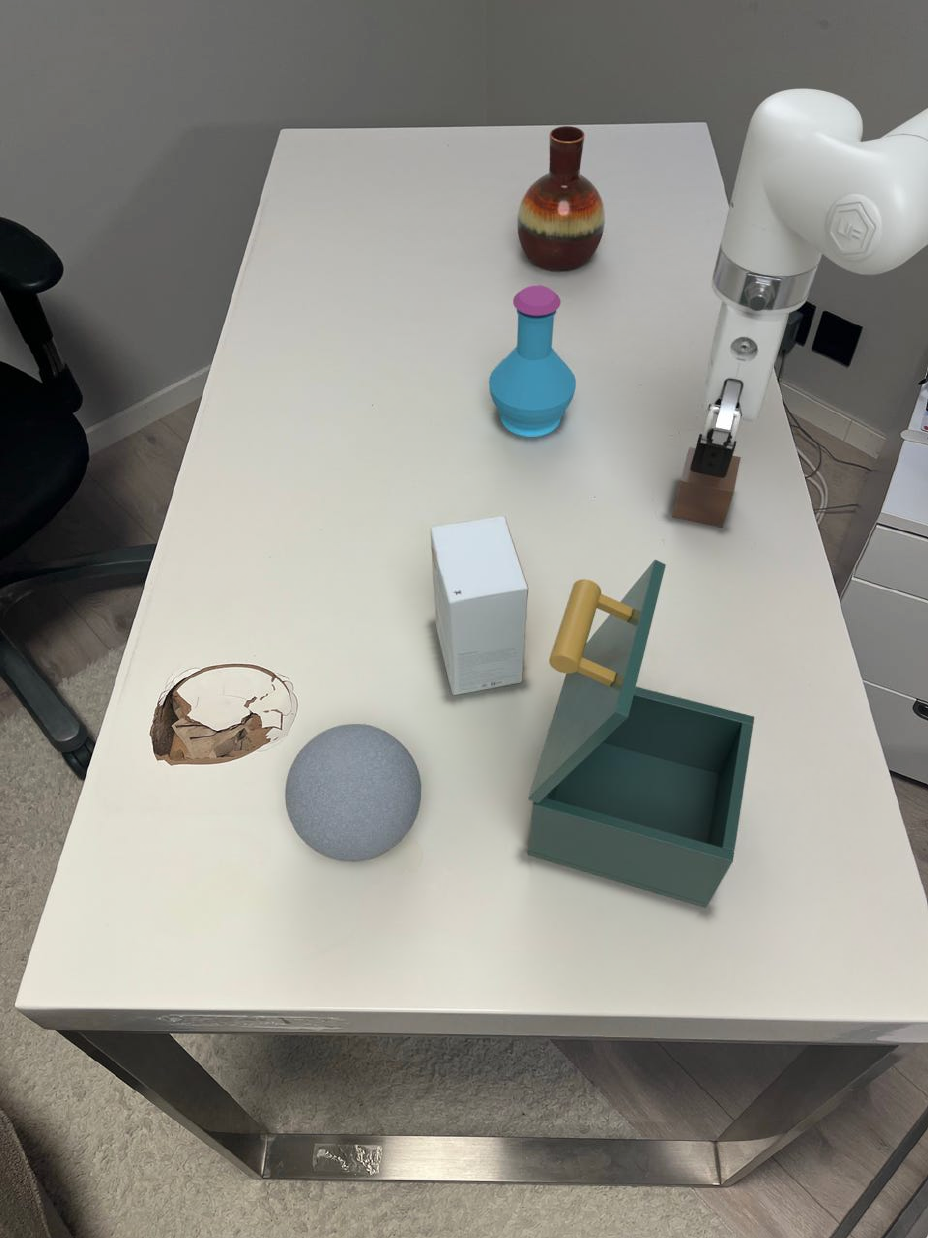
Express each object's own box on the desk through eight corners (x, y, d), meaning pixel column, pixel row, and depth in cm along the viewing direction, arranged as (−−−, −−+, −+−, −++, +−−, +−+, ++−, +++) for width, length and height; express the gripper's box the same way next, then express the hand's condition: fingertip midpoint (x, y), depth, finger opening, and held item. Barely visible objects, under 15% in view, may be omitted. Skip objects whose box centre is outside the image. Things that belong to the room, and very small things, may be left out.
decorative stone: (447, 841, 69) (443, 782, 61) (330, 906, 67) (309, 853, 59) (388, 743, 75) (377, 677, 67) (277, 799, 72) (251, 737, 64)
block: (729, 493, 92) (740, 456, 88) (722, 527, 89) (733, 491, 85) (680, 483, 93) (689, 446, 89) (672, 517, 90) (680, 480, 86)
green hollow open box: (728, 772, 73) (754, 716, 66) (706, 908, 66) (732, 862, 59) (564, 728, 75) (573, 670, 68) (527, 855, 69) (532, 804, 62)
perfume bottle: (568, 388, 102) (580, 267, 90) (576, 444, 96) (589, 322, 84) (487, 390, 102) (488, 269, 90) (490, 446, 96) (491, 325, 84)
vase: (498, 253, 119) (500, 132, 106) (558, 223, 123) (567, 103, 111) (558, 289, 114) (567, 166, 101) (618, 256, 118) (634, 134, 106)
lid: (666, 564, 56) (597, 532, 56) (628, 717, 50) (549, 682, 49) (578, 669, 68) (520, 643, 68) (538, 804, 61) (474, 775, 61)
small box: (523, 684, 78) (530, 589, 68) (452, 697, 77) (447, 604, 67) (502, 611, 83) (505, 513, 72) (434, 623, 82) (427, 525, 72)
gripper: (802, 346, 64) (744, 511, 78) (822, 221, 74) (767, 387, 88) (698, 327, 66) (658, 492, 80) (731, 206, 76) (691, 372, 89)
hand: (715, 437), depth 84 cm, fingers open, 9 cm apart
